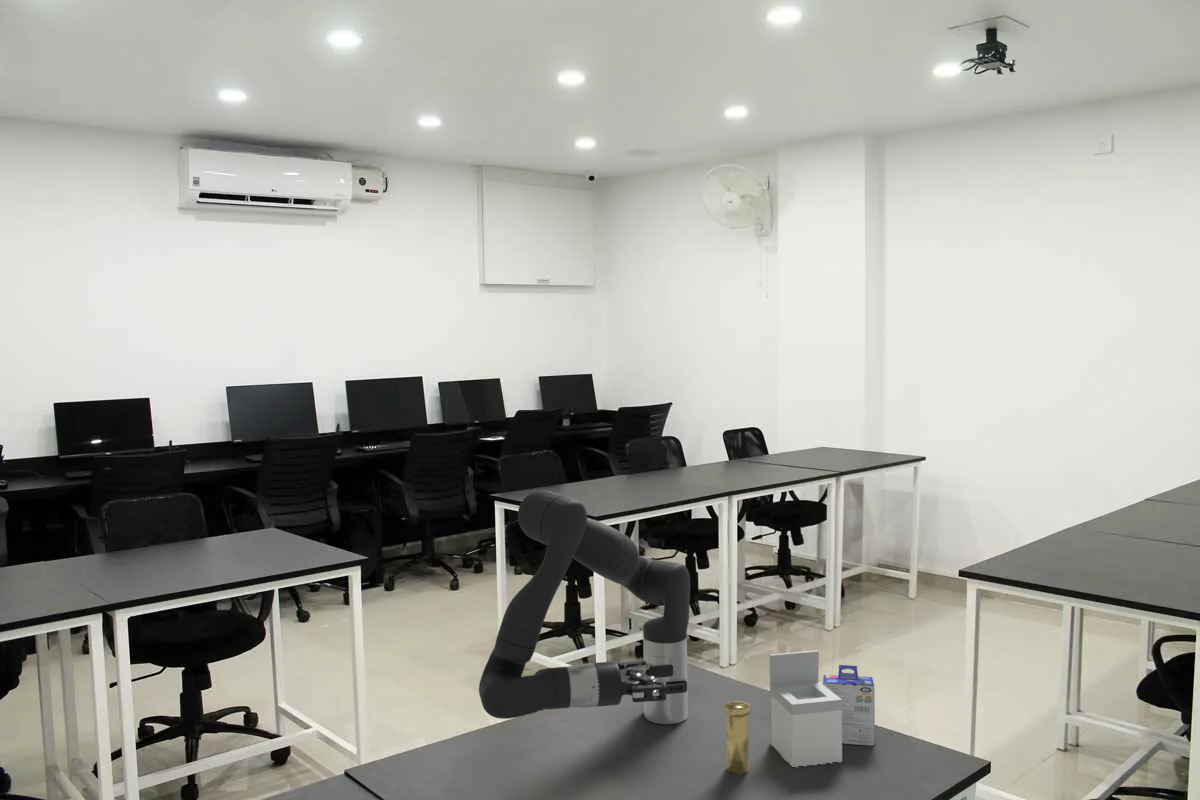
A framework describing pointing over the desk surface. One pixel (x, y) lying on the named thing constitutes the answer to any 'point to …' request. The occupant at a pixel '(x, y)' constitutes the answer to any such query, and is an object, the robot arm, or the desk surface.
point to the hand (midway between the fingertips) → (679, 677)
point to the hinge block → (803, 711)
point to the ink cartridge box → (854, 705)
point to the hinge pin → (737, 736)
